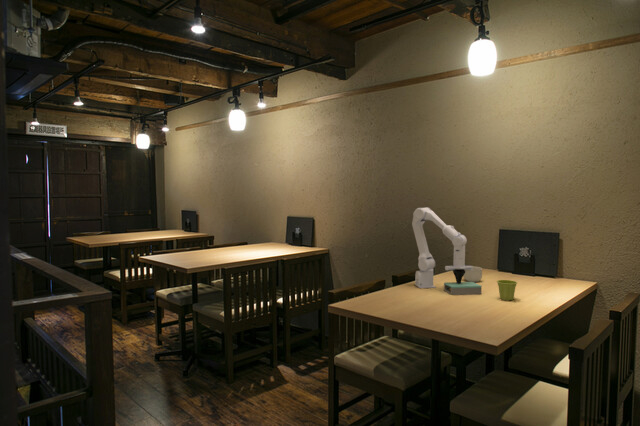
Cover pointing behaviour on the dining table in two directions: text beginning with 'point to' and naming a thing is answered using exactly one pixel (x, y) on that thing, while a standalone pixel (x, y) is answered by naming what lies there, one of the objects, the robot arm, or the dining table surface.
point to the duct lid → (462, 285)
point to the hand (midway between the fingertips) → (458, 283)
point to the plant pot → (506, 289)
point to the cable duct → (462, 290)
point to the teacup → (473, 274)
